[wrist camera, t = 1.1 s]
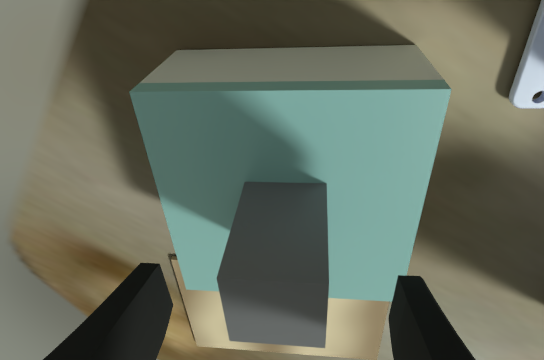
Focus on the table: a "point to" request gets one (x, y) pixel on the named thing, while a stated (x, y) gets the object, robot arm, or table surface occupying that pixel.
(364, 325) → the cork mat
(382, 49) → the storage box
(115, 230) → the table surface
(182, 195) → the lid
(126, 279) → the robot arm
